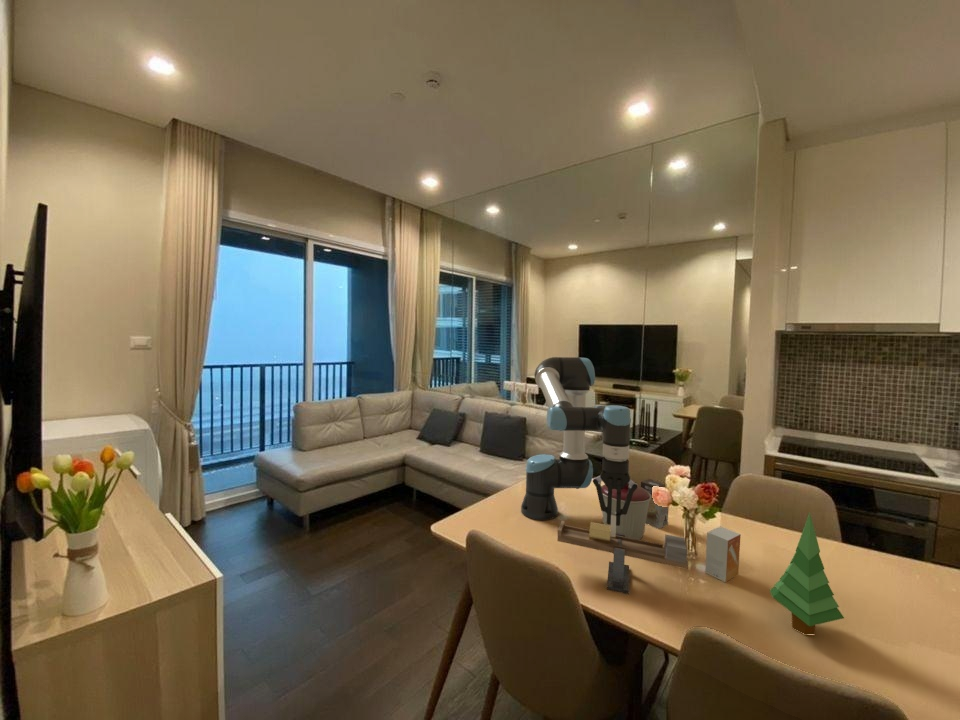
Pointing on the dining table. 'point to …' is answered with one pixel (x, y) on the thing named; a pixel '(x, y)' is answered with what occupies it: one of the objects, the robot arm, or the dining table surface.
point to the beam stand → (618, 572)
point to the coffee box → (655, 507)
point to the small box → (722, 553)
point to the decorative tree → (807, 586)
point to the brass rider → (600, 532)
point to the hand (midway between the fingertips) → (613, 534)
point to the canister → (629, 511)
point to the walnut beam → (630, 546)
